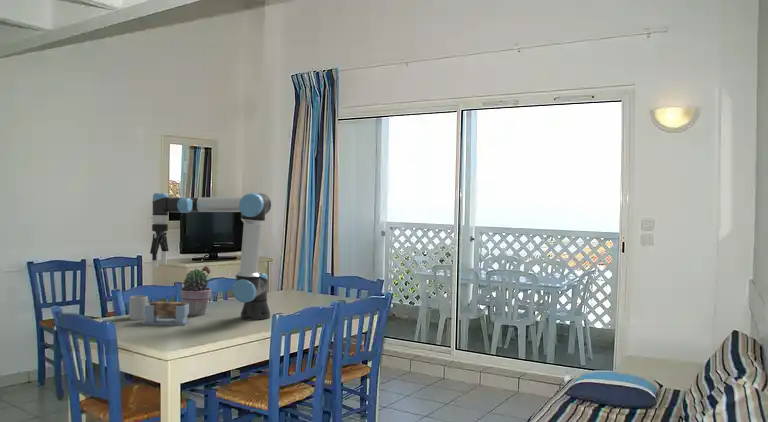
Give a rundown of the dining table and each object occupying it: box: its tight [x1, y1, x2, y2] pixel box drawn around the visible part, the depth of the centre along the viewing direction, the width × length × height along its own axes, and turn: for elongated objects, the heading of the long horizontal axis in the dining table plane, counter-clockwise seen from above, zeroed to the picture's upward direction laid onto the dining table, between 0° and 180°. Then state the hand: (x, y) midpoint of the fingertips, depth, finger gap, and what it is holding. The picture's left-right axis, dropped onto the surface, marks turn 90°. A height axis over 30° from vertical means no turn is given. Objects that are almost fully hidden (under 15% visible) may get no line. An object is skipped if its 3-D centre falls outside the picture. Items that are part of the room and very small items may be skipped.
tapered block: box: [149, 301, 184, 317], centre depth 304 cm, size 15×4×6 cm, turn 92°
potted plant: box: [179, 265, 212, 317], centre depth 327 cm, size 18×20×25 cm
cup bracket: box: [142, 302, 191, 326], centre depth 304 cm, size 20×10×9 cm, turn 92°
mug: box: [128, 294, 150, 321], centre depth 315 cm, size 12×8×11 cm
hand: (159, 265), depth 315 cm, fingers open, 13 cm apart
